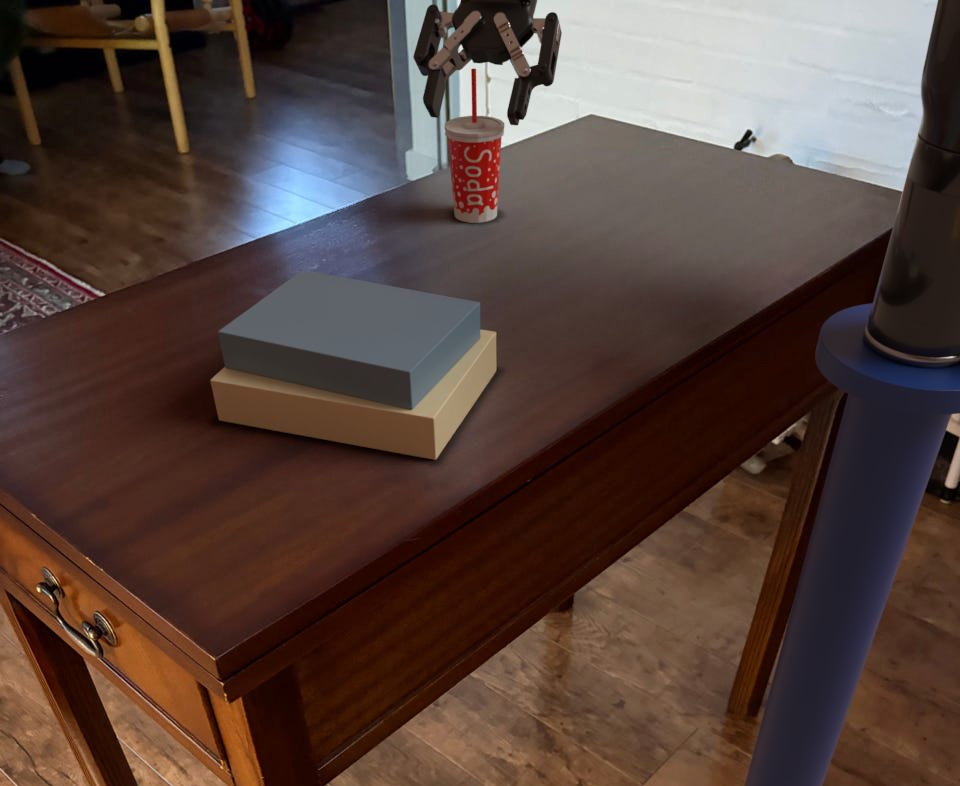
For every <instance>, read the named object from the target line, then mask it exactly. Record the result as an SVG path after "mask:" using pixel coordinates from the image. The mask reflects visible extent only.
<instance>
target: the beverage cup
mask: <svg viewBox="0 0 960 786" xmlns="http://www.w3.org/2000/svg"><path fill="white" fill-rule="evenodd" d="M470 71H471V74H470V75H471V77H470V78H471V115H466V116H465V115H464V116H458V117H455V118H451V119H449V120H448V121H446V122H445V123H444V131H445V133H444V135H445V136H446V137H447V145H448V156H449V167H450V177H451V178H450V179H451V192H452V201H453V212H454V217H455V219H456V220H459V221H461V222H465V223H468V224H469V223H470V224H480V223H487V222H490V221H492V220H495V219H496V218H497V216H498V207H499V206H498V204H499V188H500V171H501V153H502V152H501V151H502V137H503V136H504V135H505V122H504V121H503V120H502V119H500V118H497V117H493V116H487V115H478V112H477V111H478V109H477V107H478V105H477V102H478V101H477V68H471V69H470Z"/></svg>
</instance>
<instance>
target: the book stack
mask: <svg viewBox="0 0 960 786" xmlns="http://www.w3.org/2000/svg"><path fill="white" fill-rule="evenodd" d="M217 333H218V339H219V343H220V348H221V354H222V359H223V364H224V367H222V369H221V370H220V371H218V372H217V373H216V374H215V375H214V376H213V377H212V378H210V380H209V381H210V385H211V390H212V394H213V400H214V404H215V407H216V408H215V409H216V415H217V418H218V421H220V422H224V423H231V424H237V425H242V426H246V427H254V428H258V429H262V430H263V429H264V430H268V431H269V430H270V431H274V432H280V433H286V434H291V435H297V436H302V437H307V438H313V439H319V440H324V441H329V442H335V443H341V444H346V445H351V446H357V447H361V448H369V449H374V450H377V451H378V450H379V451H385V452H389V453H395V454H401V455H406V456H412V457H417V458H422V459H427V460H433V461H436V460H437V459H438V458H439V456H440V455H441V453H442V452H443V450H444V449H445V447H446V446H447V444H448V442H450V440H451V439H452V437H453V435H454V434H455V433H456V431H457V430H458V428H459V427H460V425H462V422H463V421H464V419H465V418H466V417H467V415H468V414H469V412H470V411H471V409H472V408H473V406H474V405H475V403H476V402H477V400H478V399H479V397H480V396H481V394H482V393H483V392H484V390H485V388H486V387H487V386H488V385H489V383H490V381H491V380H492V378H494V375H495V374H496V372H497V332H496V331H493V330H487V329H481V302H479V301H476V300H475V301H474V300H469V299H465V298H464V299H463V298H459V297H452V296H448V295H442V294H437V293H431V292H426V291H420V290H414V289H411V288H409V289H408V288H405V287H404V288H403V287H398V286H392V285H388V284H382V283H377V282H371V281H366V280H361V279H355V278H350V277H344V276H338V275H334V274H333V275H332V274H328V273H323V272H317V271H312V270H306V269H302V270H300V271H298V272H297V273H296V274H294V275H293V276H292V277H291V278H289V279H288V280H286V281H285V282H284V283H283V284H281V285H280V286H279V287H277V288H275V289H274V290H273V291H271V292H270V293H269V294H267V295H266V296H265V297H263V298H262V299H261V300H259V301H258V302H256V303H255V304H254V305H252V306H251V307H249V308H248V309H247V310H245V311H244V312H242V313H241V314H240V315H238V316H237V317H236V318H234V319H233V320H232V321H230V322H229V323H228V324H226V325H225V326H223V327H222V328H221V329H219V330H218V332H217Z"/></svg>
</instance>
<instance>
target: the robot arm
mask: <svg viewBox="0 0 960 786" xmlns="http://www.w3.org/2000/svg"><path fill="white" fill-rule="evenodd" d="M537 4H538V0H460V2H459V5H458V6H457V8H456V9H455V10H454V12H448V11H440V10H439V9H440V8H439V7H438V5H437V4H430V5H428V7H427V9H426V11H425V15H424V18H423V21H422V25H421V28H420V33H419V36H418V39H417V43H416V46H415V49H414V51H413V52H414V53H413V56H412V57H413V60H414V62H415V63H416V66H417V68H418V70H419V72H420V74H421V76H423V77H427V78H426V82H425V87H424V91H423V95H422V102H423V105H424V107H425V109H426V111H427V112H428V114H429V116H430V118H434V119H435V118H437V119H438V118H439V117H440V115H441V114H440V113H441V109H442V106H443V101H444V97H445V92H446V88H447V83H446V81H447V80H449V78H450V77H451V76H452V75H453V74H454V73H455V72H456V71H461V70H463V69H464V67H466V66H467V65H468V64H469V63H470V62H471V61H472V63H473V64H484V63H490V64H493V65H495V66H496V65H497V66H503V65H504V63H506V62H508V61H509V62H510V63H511V66H512V68H513V70H514V72H515V74H516V75H517V77H514V81H513V84H512V89H511V93H510V98H509V102H508V106H507V112H506V117H507V119H508V123H509V125H510V126H519V124H520V121H524V119H525V118H526V116H527V113H528V108H529V104H530V100H531V95H532V92H533V90H534V89H535V88H536V87H538V86H541V85H543V86H544V87H550V86H552V85H553V83H554V82H555V81H554V80H555V75H556V69H557V63H558V57H559V52H560V45H561V40H562V33H563V32H562V28H561V25H560V24H561V23H560V19H559V16H558V14H557V13H556V12H554V11H551V12H548V13H547V14H546V15H545V17H543V18H542V17H541V18H539V17H538V18H537V17H536V18H535V17H534V15H535V12H536V8H537ZM931 25H932V26H931V30H930V35H929V40H928V43H927V44H928V45H927V50H926V54H925V58H924V64H923V68H922V73H921V79H920V99H921V107H922V115H921V120H920V124H919V128H918V132H917V134H916V138H915V143H914V147H913V150H912V154H911V158H910V161H909V165H908V171H907V173H906V177H905V181H904V184H903V188H902V192H901V196H900V200H899V204H898V207H897V211H896V214H895V218H894V223H893V226H892V228H891V229H892V230H891V233H890V237H889V241H888V245H887V248H886V252H885V256H884V260H883V264H882V268H881V271H880V274H879V279H878V283H877V286H876V289H875V293H874V298H873V301H872V303H873V305H872V309H871V311H870V314H869V318H868V321H867V323H866V327H865V331H864V334H863V339H864V342H865V344H866V345H867V346H868V348H869V349H871V350H872V351H873V352H874V353H876V354H878V355H879V356H881V357H883V358H885V359H888V360H890V361H893V362H896V363H899V364H903V365H908V366H913V367H920V368H946V367H953V366H957V365H960V0H937V1H936V8H935V11H934V16H933V21H932V24H931ZM450 29H453V30H454V31H453V32H452V34H450V35H449V36H448V37H447V38H446V36H447V32H449V30H450ZM534 34H536V35H537V38H538V42H539V43H540V49H539V55H538V61H537V64H536V65H530V64H529V62H528V59H527V58H526V56H525V54H524V52H523V49H522V48H523V47H524V46H525V45H526V44H527V43H528V42H529V41H530V40H531V39H532V38H533V37H534ZM445 38H446V39H445ZM441 39H445V40H444V42H443V45H442V48H441V49H439V47H440V43H441ZM460 47H461V48H462V49H461V50H460V51H459V48H460ZM438 50H439V51H438Z"/></svg>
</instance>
